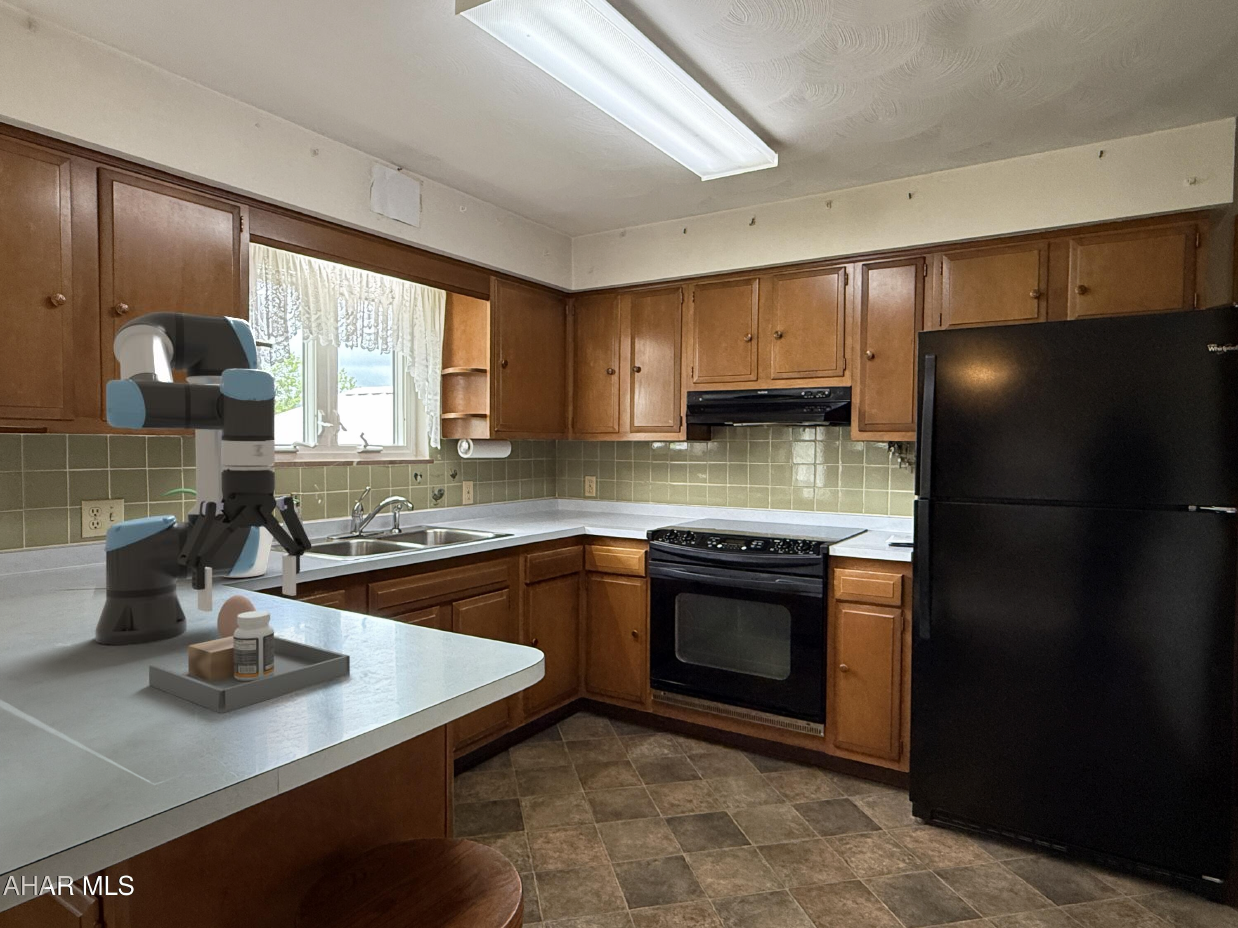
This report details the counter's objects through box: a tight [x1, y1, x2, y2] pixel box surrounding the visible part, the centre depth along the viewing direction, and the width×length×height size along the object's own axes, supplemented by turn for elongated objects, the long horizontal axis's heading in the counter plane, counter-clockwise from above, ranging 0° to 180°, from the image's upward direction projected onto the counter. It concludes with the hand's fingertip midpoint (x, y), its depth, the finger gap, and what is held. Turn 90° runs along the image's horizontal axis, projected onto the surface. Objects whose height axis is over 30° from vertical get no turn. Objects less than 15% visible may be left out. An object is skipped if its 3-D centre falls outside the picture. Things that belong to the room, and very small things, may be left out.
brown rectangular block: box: [187, 636, 234, 682], centre depth 118 cm, size 7×10×4 cm
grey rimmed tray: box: [148, 636, 351, 714], centre depth 115 cm, size 21×21×3 cm
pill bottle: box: [233, 610, 275, 681], centre depth 114 cm, size 6×6×10 cm
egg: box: [216, 594, 257, 638], centre depth 136 cm, size 7×7×9 cm
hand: (249, 602), depth 115 cm, fingers open, 13 cm apart
